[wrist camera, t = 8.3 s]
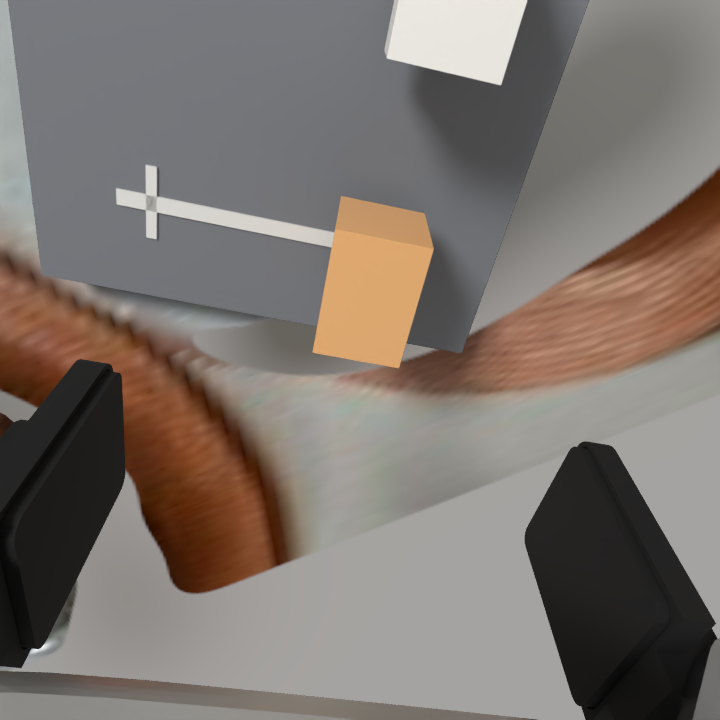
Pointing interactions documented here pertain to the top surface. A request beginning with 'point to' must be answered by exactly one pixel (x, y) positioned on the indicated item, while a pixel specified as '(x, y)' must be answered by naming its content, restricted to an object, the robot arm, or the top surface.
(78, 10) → the panel
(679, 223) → the top surface
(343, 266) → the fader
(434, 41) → the fader
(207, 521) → the top surface
